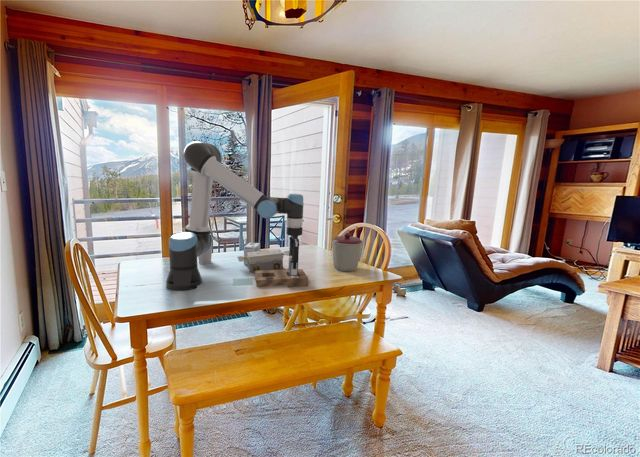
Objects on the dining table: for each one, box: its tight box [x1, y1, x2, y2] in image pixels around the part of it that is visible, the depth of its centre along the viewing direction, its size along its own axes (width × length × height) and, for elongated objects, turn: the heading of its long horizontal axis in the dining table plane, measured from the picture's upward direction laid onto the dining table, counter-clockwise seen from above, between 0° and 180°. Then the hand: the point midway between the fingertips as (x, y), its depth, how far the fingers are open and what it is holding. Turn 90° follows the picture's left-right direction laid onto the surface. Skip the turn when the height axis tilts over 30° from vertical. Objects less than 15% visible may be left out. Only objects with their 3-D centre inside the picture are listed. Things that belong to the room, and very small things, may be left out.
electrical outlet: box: [236, 248, 289, 273], centre depth 175 cm, size 12×28×10 cm, turn 111°
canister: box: [330, 232, 364, 272], centre depth 183 cm, size 18×18×21 cm
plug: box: [288, 256, 299, 276], centre depth 159 cm, size 4×4×10 cm
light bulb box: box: [243, 242, 261, 266], centre depth 187 cm, size 11×7×11 cm, turn 175°
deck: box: [232, 277, 254, 287], centre depth 154 cm, size 9×9×1 cm
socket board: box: [254, 268, 309, 288], centre depth 158 cm, size 24×14×4 cm, turn 104°
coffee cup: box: [197, 237, 215, 265], centre depth 183 cm, size 10×10×15 cm
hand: (293, 273), depth 159 cm, fingers closed on plug, 4 cm apart
